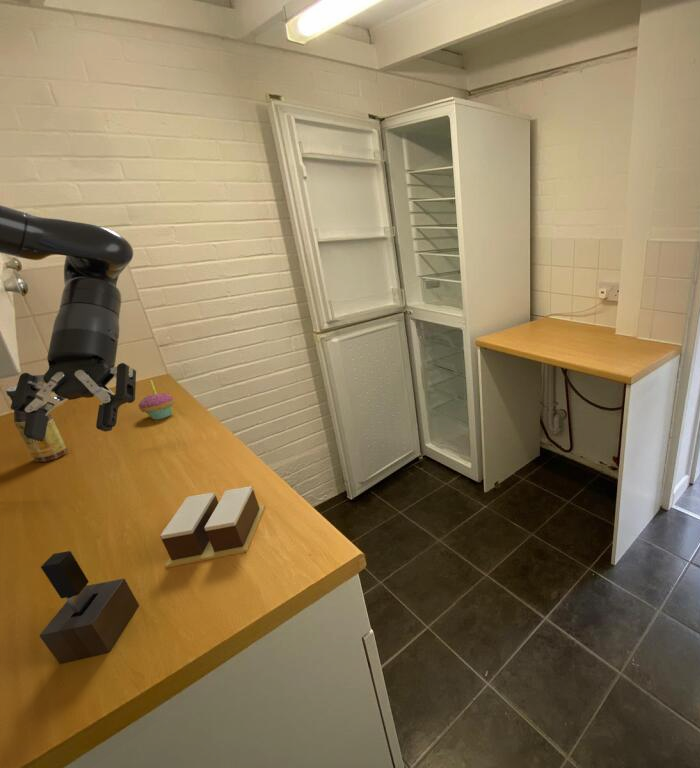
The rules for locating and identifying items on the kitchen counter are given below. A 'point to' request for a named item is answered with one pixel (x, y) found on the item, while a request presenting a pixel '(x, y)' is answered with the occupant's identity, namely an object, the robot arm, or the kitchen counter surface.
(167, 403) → the cupcake
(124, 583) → the knife block
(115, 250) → the robot arm
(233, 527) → the cake
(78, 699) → the kitchen counter surface
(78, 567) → the knife
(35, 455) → the sauce bottle
